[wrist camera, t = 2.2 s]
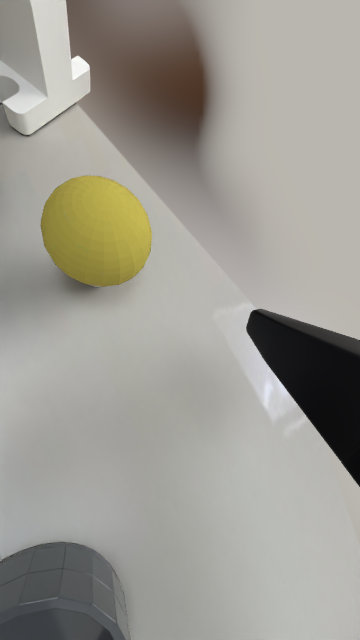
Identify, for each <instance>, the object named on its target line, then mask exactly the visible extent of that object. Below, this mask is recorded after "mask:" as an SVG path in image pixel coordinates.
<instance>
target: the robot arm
mask: <svg viewBox="0 0 360 640" xmlns="http://www.w3.org/2000/svg"><path fill="white" fill-rule="evenodd" d="M246 329H247V333H248V334H249V336H250V338H251V339H252V341H253V342H254V344H255V346H256V347H257V349H258V351H259V352H260V354H261V355H262V357H263V359H264V360H265V362H266V363H267V364H268V366H269V367H270V368H271V370H272V371H273V372H274V374H275V375H276V376H277V378H278V379H279V380H280V382H281V383H282V384H283V386H284V387H285V388H286V390H287V391H288V392H289V394H290V395H291V396H292V398H293V399H294V400H295V402H296V403H297V404H298V406H299V407H300V408H301V409H302V411H303V412H304V413H305V415H306V416H307V417H308V419H309V420H310V421H311V423H312V424H313V425H314V427H315V428H316V429H317V431H318V432H319V433H320V435H321V436H322V437H323V439H324V440H325V441H326V442H327V444H328V445H329V447H330V448H331V449H332V450H333V452H334V453H335V454H336V456H337V457H338V458H339V460H340V461H341V463H342V464H343V465H344V467H345V468H346V469H347V471H348V472H349V473H350V475H351V476H352V477H353V479H354V480H355V481H356V483H357V484H358V485H359V487H360V340H357V339H355V338H351V337H349V336H345V335H342V334H339V333H336V332H333V331H330V330H327V329H323V328H320V327H317V326H314V325H311V324H307V323H304V322H301V321H298V320H295V319H292V318H289V317H285V316H282V315H279V314H276V313H273V312H269V311H267V310H263V309H258V310H253V311H252V312H251V314H250V317H249V320H248V323H247V327H246Z"/></svg>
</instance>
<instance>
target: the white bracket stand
mask: <svg viewBox="0 0 360 640" xmlns="http://www.w3.org/2000/svg"><path fill="white" fill-rule="evenodd" d="M88 93H90V67H89V65H88V63H86V62H85V61H84V60H83V59H82V58H80V57H79V56H76V57H75V58H73V59H71V55H70V43H69V31H68V20H67V9H66V0H0V103H1V102H2V104H3V107H4V110H5V113H6V115H7V118H8V121H9V124H10V125H11V126H12V127H13V128H15V129H16V130H17V131H19V132H20V133H22V134H25V135H30V134H32V133H33V132H35V131H36V130H37V129H39V128H40V127H42V126H43V125H45V124H46V123H47V122H49V121H50V120H52V119H53V118H54V117H56V116H57V115H59V114H60V113H61V112H63V111H64V110H66V109H67V108H69V107H70V106H71V105H73V104H74V103H76V102H77V101H78V100H80V99H81V98H83V97H84V96H86V95H87V94H88Z"/></svg>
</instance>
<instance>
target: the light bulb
mask: <svg viewBox="0 0 360 640" xmlns="http://www.w3.org/2000/svg"><path fill="white" fill-rule="evenodd" d="M41 230H42V235H43V240H44V246H45V248H46V250H47V251H48V253H49V255H50V256H51V258H52V260H53V261H54V263H55V265H57V266H58V267H59V268H60V269H61V270H62V271H63V272H64V273H66V274H67V275H68V276H69V277H71V278H74V279H76V280H78V281H80V282H82V283H84V284H89V285H91V286H94V287H105V286H112V285H119V284H121V283H123V282H125V281H128V280H130V279H132V278H133V277H134V276H135V275H136V274H137V273H138V272H139V271H140V270H141V269H142V268H143V267H144V265H145V262H146V260H147V258H148V256H149V254H150V251H151V240H152V231H151V227H150V223H149V219H148V215H147V213H146V212H145V210H144V208H143V207H142V205H141V203H140V202H139V200H138V199H137V198H136V197H135V196H134V195H133V194H132V193H131V192H130V191H129V190H128V189H127V188H125V187H124V186H122V185H120V184H119V183H117V182H115V181H114V180H110V179H107V178H104V177H101V176H81V177H77V178H72V179H70V180H68V181H66V182H65V183H63V184H62V185H60V186H58V187H57V188H56V189H55V190H54V191H53V193H52V194H51V196H50V197H49V198H48V200H47V201H46V203H45V205H44V210H43V214H42V219H41Z"/></svg>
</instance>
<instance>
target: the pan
mask: <svg viewBox="0 0 360 640" xmlns="http://www.w3.org/2000/svg"><path fill="white" fill-rule="evenodd" d="M0 640H131V639H130V633H129V626H128V619H127V612H126V606H125V599H124V593H123V590H122V587H121V584H120V581H119V579H118V577H117V575H116V573H115V571H114V570H113V568H112V567H111V565H110V564H109V563H108V562H107V561H106V560H105V559H104V558H103V557H102V556H101V555H100V554H98V553H97V552H95V551H94V550H92V549H90V548H88V547H85V546H83V545H79V544H74V543H64V542H59V543H48V544H43V545H39V546H35V547H32V548H29V549H26V550H23V551H21V552H19V553H17V554H15V555H13V556H11V557H9V558H7V559H5V560H4V561H2V562H0Z"/></svg>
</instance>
